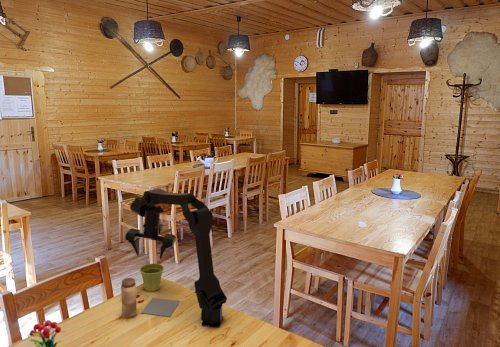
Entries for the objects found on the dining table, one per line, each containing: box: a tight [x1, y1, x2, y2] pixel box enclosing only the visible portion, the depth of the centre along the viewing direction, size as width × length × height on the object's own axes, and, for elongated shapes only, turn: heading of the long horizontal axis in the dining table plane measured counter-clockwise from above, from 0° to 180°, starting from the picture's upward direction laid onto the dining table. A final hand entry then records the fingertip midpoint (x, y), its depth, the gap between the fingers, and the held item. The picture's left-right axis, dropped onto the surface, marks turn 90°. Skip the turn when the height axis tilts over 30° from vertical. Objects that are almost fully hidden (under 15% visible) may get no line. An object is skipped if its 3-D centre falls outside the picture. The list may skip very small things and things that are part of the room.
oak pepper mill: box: [120, 277, 138, 319], centre depth 135 cm, size 5×5×13 cm
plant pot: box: [139, 263, 165, 292], centre depth 155 cm, size 9×9×9 cm
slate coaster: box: [140, 297, 181, 318], centre depth 142 cm, size 11×11×1 cm
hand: (149, 257), depth 152 cm, fingers open, 9 cm apart
